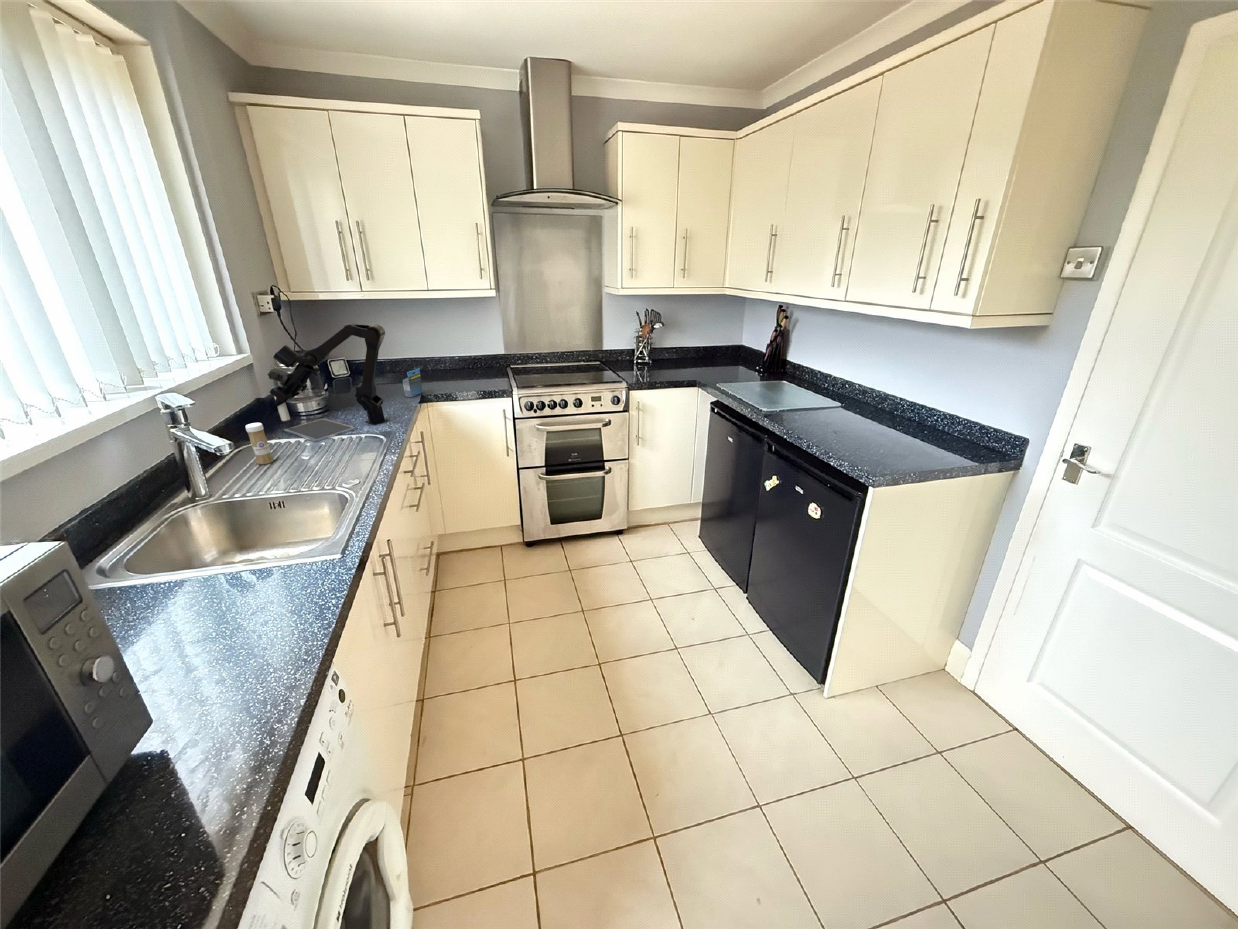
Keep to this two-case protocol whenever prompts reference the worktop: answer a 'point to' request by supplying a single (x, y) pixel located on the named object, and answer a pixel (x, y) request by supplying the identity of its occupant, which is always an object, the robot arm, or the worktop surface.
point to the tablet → (319, 429)
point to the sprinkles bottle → (259, 443)
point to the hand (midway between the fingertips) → (277, 404)
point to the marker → (283, 411)
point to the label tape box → (412, 384)
